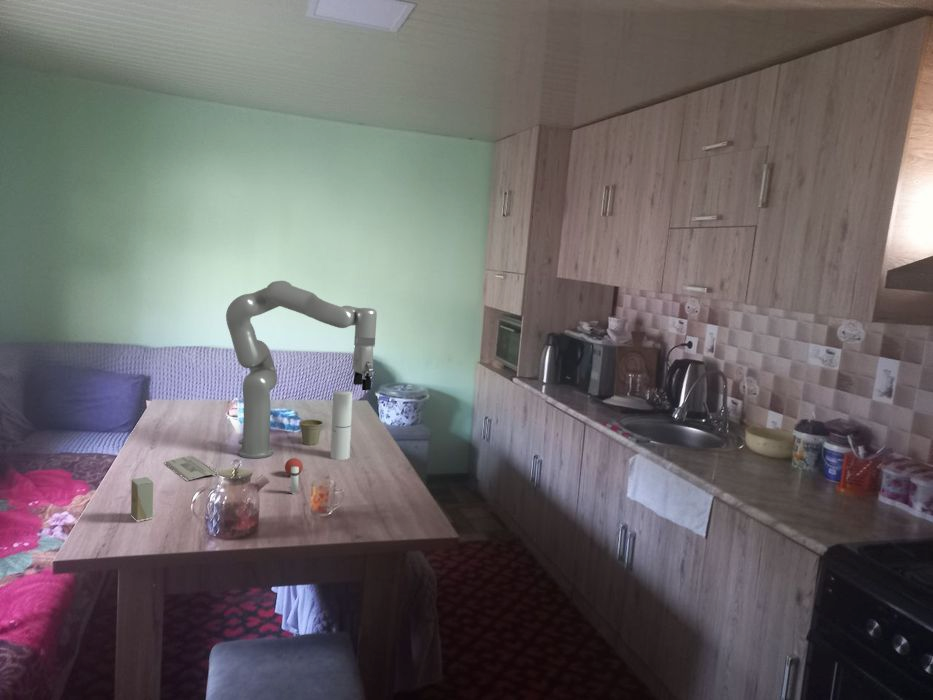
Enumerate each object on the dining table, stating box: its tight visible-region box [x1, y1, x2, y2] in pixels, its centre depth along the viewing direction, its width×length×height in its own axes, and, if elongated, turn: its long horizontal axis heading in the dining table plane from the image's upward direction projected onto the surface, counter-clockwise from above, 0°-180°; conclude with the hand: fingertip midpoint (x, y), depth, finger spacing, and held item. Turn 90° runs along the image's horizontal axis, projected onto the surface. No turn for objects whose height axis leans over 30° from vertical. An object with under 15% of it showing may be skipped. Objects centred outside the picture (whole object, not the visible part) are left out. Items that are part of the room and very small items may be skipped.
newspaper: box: [164, 455, 217, 481], centre depth 225 cm, size 23×12×2 cm, turn 43°
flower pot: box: [298, 419, 324, 446], centre depth 264 cm, size 9×9×9 cm
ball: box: [284, 457, 304, 476], centre depth 225 cm, size 6×6×6 cm
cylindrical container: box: [330, 390, 354, 461], centre depth 248 cm, size 7×7×25 cm
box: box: [130, 476, 154, 520], centre depth 182 cm, size 5×4×11 cm
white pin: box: [289, 466, 300, 494], centre depth 209 cm, size 2×2×8 cm
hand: (361, 387), depth 243 cm, fingers open, 9 cm apart
